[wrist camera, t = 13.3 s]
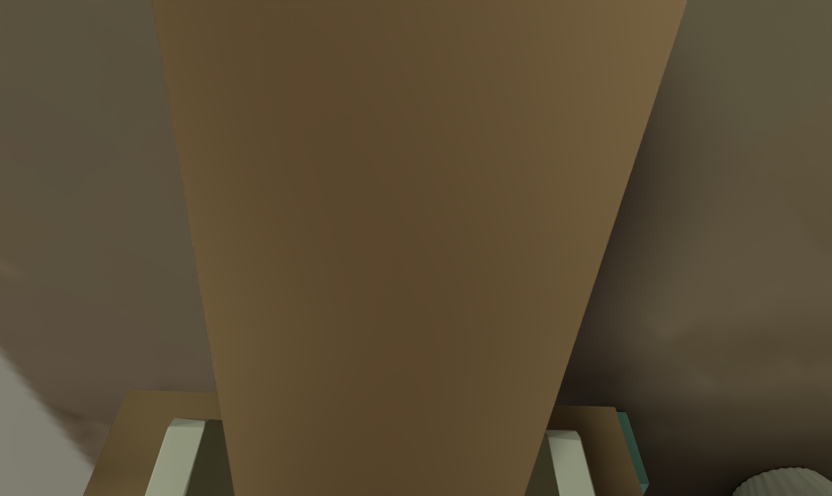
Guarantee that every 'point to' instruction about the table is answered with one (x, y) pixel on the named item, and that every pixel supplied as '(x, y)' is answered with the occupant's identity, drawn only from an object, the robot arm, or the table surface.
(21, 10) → the table surface
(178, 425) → the robot arm
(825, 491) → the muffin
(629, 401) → the table surface
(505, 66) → the wooden post on base
